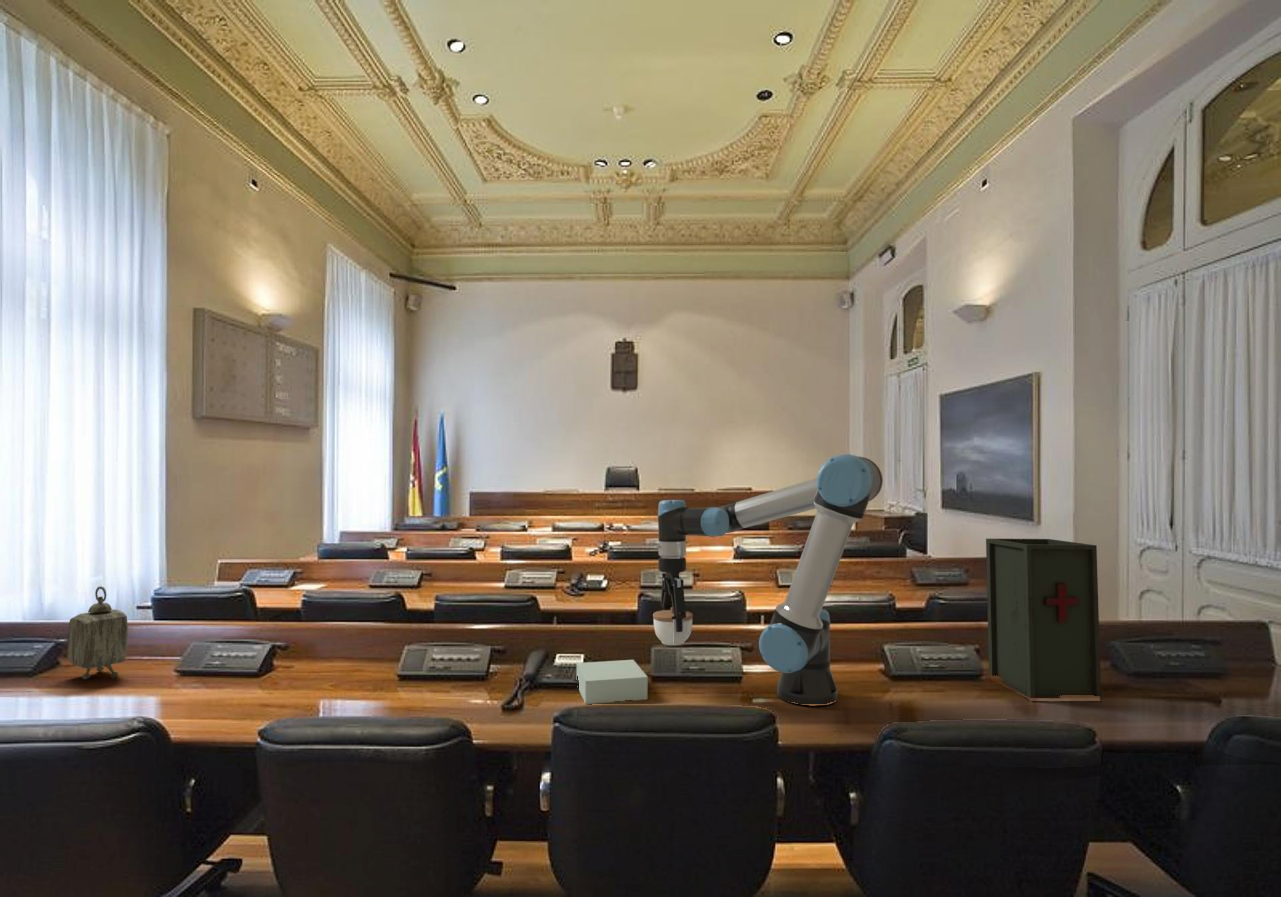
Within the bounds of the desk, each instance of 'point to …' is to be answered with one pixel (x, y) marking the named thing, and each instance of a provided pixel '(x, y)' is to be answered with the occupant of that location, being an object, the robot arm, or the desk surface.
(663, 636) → the lidded jar
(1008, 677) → the first aid box
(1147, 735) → the desk surface
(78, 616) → the tabletop clock
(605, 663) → the sage block
